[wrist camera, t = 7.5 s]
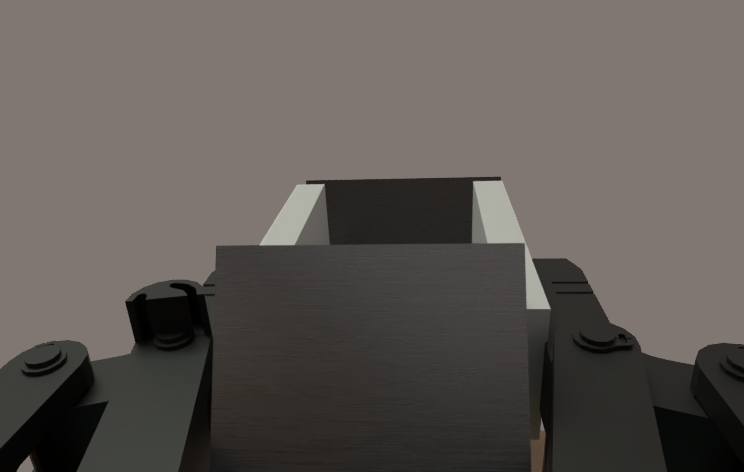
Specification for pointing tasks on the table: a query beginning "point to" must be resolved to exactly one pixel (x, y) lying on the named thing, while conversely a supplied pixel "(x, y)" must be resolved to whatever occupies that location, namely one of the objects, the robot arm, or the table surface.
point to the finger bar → (374, 341)
